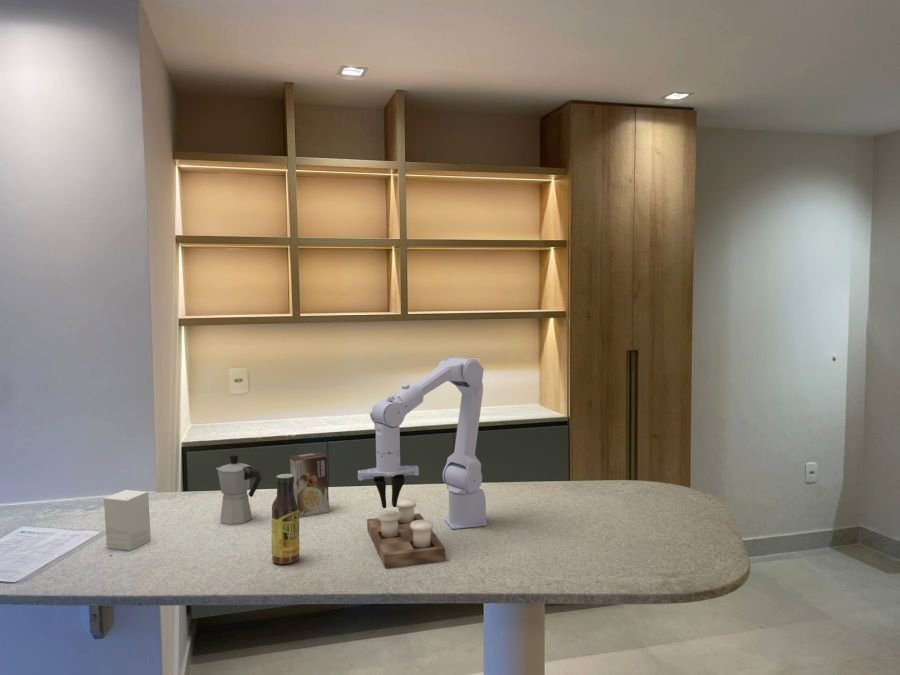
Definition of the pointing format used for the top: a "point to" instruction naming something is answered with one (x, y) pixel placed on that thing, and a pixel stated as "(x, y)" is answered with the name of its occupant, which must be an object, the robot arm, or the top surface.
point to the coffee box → (310, 483)
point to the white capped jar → (406, 510)
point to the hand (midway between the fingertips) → (389, 506)
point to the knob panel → (404, 545)
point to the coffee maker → (236, 491)
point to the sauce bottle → (285, 522)
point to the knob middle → (389, 523)
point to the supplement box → (127, 519)
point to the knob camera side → (421, 533)
